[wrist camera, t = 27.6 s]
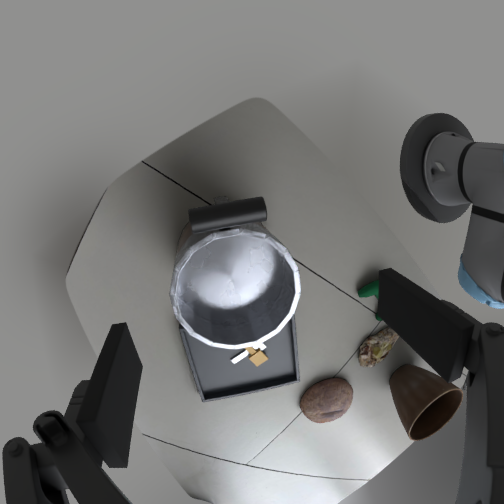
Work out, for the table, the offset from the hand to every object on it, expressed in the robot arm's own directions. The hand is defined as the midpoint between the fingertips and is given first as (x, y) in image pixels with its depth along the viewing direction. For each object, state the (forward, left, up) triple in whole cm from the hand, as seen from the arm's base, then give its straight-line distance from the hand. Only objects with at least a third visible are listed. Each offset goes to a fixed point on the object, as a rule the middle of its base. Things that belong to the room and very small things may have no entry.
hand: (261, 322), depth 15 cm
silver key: (-19, +18, -33) cm, 42 cm away
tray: (-19, +19, -34) cm, 43 cm away
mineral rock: (-43, +4, -34) cm, 55 cm away
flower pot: (-58, +7, -34) cm, 67 cm away
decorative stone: (-42, +20, -34) cm, 57 cm away
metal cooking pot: (-4, +4, -24) cm, 24 cm away
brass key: (-19, +17, -33) cm, 41 cm away
